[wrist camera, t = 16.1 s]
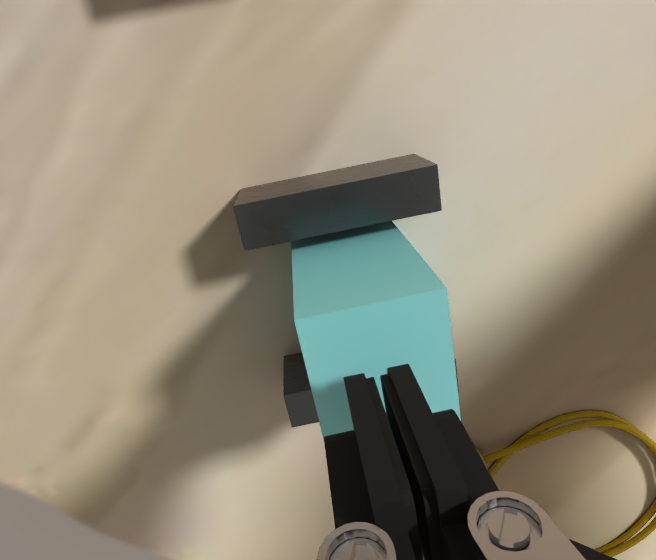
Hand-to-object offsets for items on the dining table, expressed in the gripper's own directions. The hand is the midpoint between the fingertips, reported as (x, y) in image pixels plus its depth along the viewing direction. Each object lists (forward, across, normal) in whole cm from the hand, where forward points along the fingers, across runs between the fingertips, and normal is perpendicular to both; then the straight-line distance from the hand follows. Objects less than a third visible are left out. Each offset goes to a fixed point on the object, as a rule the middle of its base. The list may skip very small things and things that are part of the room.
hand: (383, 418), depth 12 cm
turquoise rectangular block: (+9, 0, 0) cm, 9 cm away
